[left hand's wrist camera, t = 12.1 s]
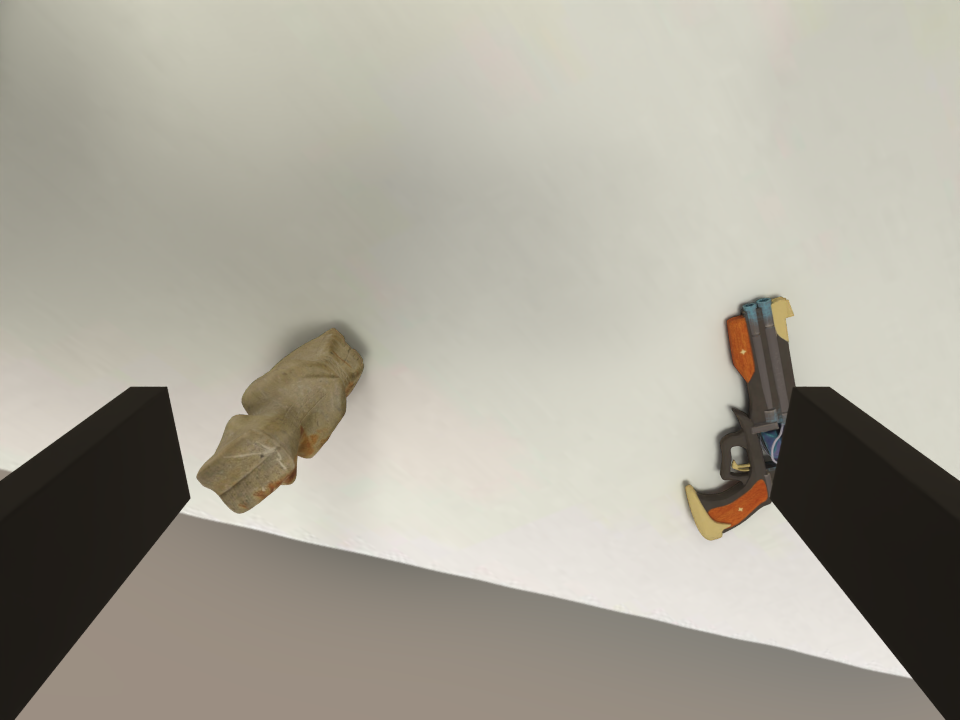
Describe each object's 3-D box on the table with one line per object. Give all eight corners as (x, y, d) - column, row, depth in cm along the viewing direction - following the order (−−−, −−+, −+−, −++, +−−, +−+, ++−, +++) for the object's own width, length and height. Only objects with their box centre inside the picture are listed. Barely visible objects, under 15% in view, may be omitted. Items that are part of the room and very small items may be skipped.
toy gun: (701, 550, 48) (833, 528, 45) (649, 335, 42) (795, 297, 40) (694, 530, 50) (819, 508, 48) (644, 324, 45) (781, 289, 43)
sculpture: (262, 359, 44) (161, 463, 30) (335, 306, 43) (265, 390, 29) (312, 416, 46) (239, 539, 32) (384, 367, 44) (341, 474, 30)
